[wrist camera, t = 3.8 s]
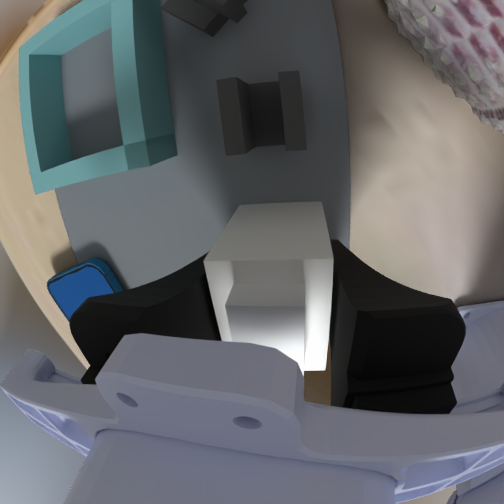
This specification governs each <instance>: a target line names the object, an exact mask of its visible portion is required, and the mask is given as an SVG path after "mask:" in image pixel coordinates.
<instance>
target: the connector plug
mask: <svg viewBox="0 0 504 504" xmlns="http://www.w3.org/2000/svg"><path fill="white" fill-rule="evenodd" d="M333 259H334V258H333V253H332V248H331V243H330V238H329V233H328V228H327V223H326V219H325V214H324V210H323V205H322V201H313V202H284V203H262V204H244V205H239V207H238V208H237V210H236V211H235V213H234V214H233V216H232V217H231V219H230V220H229V222H228V223H227V225H226V226H225V228H224V230H223V231H222V233H221V234H220V236H219V237H218V239H217V240H216V242H215V243H214V245H213V247H212V248H211V250H210V251H209V253H208V254H207V256H206V258H205V259H204V266H205V271H206V275H207V280H208V284H209V289H210V293H211V298H212V302H213V306H214V311H215V315H216V319H217V323H218V327H219V331H220V335H221V339H222V341H227V342H246V343H253V344H258V345H262V346H267V347H272V348H276V349H278V350H279V351H281V352H282V353H284V354H285V355H287V356H288V357H290V358H292V359H293V360H295V361H296V362H298V364H299V367H300V369H301V372H302V374H303V376H304V371H318V370H325V368H326V359H327V350H328V339H329V328H330V316H331V301H332V284H333Z"/></svg>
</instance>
